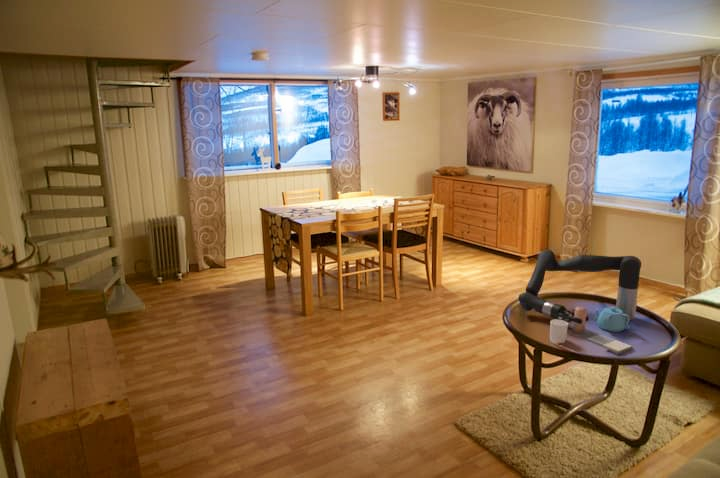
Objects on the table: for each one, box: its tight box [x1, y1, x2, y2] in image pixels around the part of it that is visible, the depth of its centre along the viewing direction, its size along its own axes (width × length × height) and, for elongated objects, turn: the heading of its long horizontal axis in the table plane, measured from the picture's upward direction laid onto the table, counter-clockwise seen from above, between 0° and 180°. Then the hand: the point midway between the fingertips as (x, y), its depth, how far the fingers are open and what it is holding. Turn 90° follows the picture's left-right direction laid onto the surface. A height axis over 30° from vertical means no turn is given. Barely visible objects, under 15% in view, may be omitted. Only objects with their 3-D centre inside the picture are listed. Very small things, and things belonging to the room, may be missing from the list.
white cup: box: [549, 318, 569, 345], centre depth 237 cm, size 8×8×10 cm
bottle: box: [572, 306, 588, 334], centre depth 245 cm, size 5×5×12 cm
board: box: [567, 328, 634, 356], centre depth 239 cm, size 12×28×2 cm, turn 31°
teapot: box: [593, 306, 631, 333], centre depth 251 cm, size 20×17×12 cm
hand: (584, 320), depth 243 cm, fingers closed on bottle, 5 cm apart
